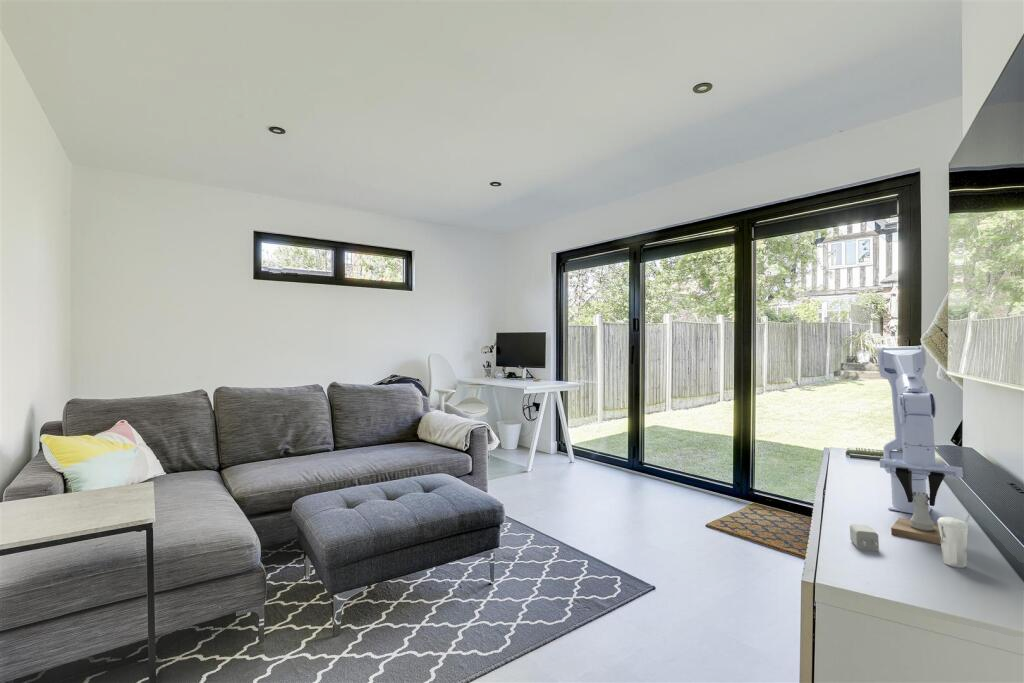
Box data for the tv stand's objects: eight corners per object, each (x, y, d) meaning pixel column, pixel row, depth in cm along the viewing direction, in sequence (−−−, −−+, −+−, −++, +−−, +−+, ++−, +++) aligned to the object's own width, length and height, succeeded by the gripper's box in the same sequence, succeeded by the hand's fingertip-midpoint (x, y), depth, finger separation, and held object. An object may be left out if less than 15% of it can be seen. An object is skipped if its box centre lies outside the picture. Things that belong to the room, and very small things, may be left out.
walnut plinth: (899, 523, 117) (899, 517, 117) (954, 534, 110) (954, 527, 110) (891, 534, 110) (891, 527, 110) (949, 546, 103) (949, 539, 103)
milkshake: (981, 570, 91) (978, 518, 92) (949, 568, 92) (946, 516, 93) (964, 560, 96) (961, 510, 96) (933, 559, 97) (931, 509, 97)
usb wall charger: (871, 544, 105) (871, 525, 105) (883, 556, 99) (882, 537, 99) (850, 541, 107) (849, 523, 107) (860, 553, 100) (859, 534, 100)
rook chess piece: (904, 525, 112) (902, 491, 112) (920, 524, 112) (919, 490, 113) (923, 532, 107) (921, 496, 107) (940, 530, 108) (938, 495, 108)
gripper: (875, 442, 113) (878, 500, 113) (958, 450, 103) (962, 514, 102) (882, 439, 118) (884, 494, 118) (962, 446, 107) (965, 507, 107)
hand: (921, 503), depth 110 cm, fingers closed on rook chess piece, 3 cm apart
